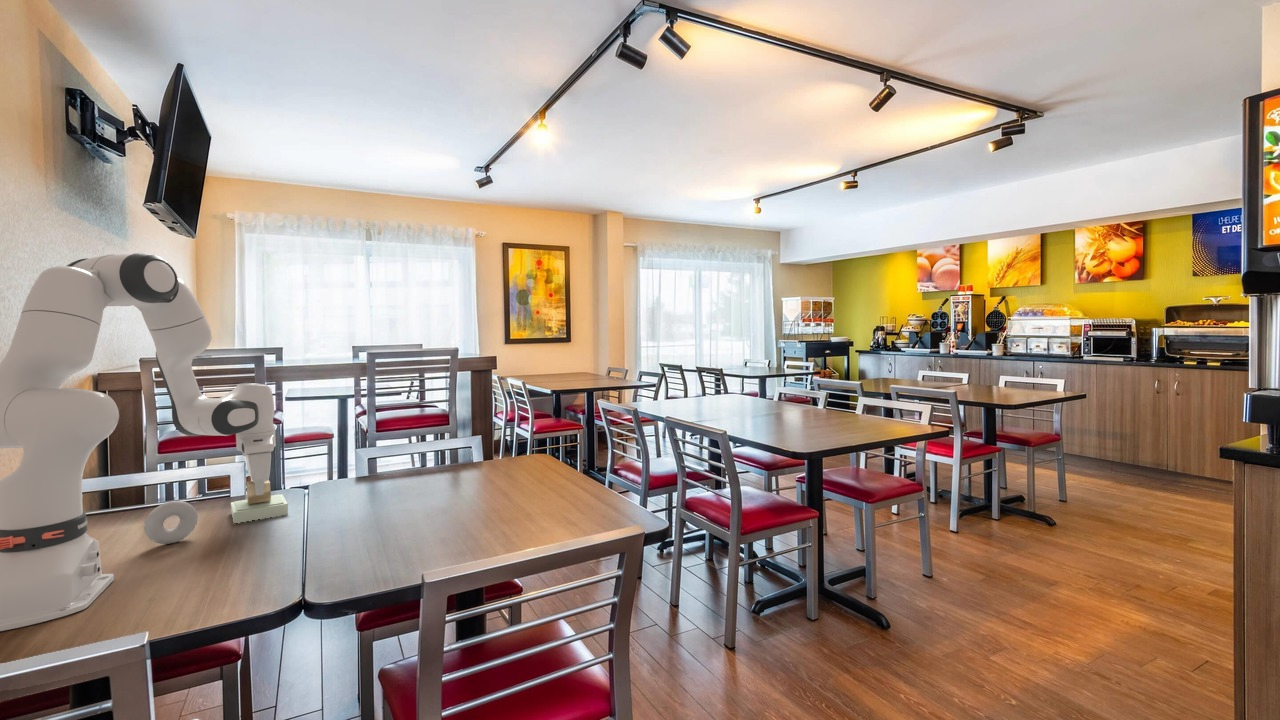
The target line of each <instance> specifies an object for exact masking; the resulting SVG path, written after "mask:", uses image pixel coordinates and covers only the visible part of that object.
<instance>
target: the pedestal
mask: <svg viewBox="0 0 1280 720" xmlns="http://www.w3.org/2000/svg"><path fill="white" fill-rule="evenodd" d="M288 505H289V504H288V502H287V500H286V498H285V497H284V494H282V493H281V494H274V495H273V494H271V501H265V502H259V503H253V504H248V501H247V499H242V500H235V501H232V502H230V513H231V518H233V519H232V523H233V522H234V523H238V524H241V523H240V522H244V523H247V522H246V521H249V522H253V521H252V520H255V521H259V520H258V519H260V520H265V518H266V519H271V518H270V517H272V518H276V516H277V517H281V516H282V515H283V516H287V515H289V507H288ZM234 523H233V524H234Z"/></svg>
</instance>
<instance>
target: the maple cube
mask: <svg viewBox="0 0 1280 720" xmlns="http://www.w3.org/2000/svg"><path fill="white" fill-rule="evenodd" d="M245 483H246V500H247V501H248V504H253V503H259V502H265V501H271V496H272V494H271V481H270V479H269V480H268V481H264V494H263V495H256V494H255V483H254V482H253V481H252V480H250V481H246V482H245Z"/></svg>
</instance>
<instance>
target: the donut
mask: <svg viewBox="0 0 1280 720" xmlns="http://www.w3.org/2000/svg"><path fill="white" fill-rule="evenodd" d="M172 516H176V517H178V518H179V522H178V523H177V525H176V526H175V527H174V528H171V529H170V528H169V529H167V528H165V526H164V522H165V520H167V518H169V517H172ZM198 518H199V516H198V513H197V510H196V509H195V507H194V506H193V505H192V504H190V503H189V502H186V501H181V500H171V501H167V502H164V503H161V504H160V505H158V506H156V507H155V508H153V509H152V510H151V512H150V513H148V515H147V517H146V519H145V521H144V525H143V530H144V533H145V536H146V537H147V538H148V539H149V540H150V542H151V541H152V542H153V543H156V544H158V545H159V544H160V545H168V544H169V545H170V544H171V543H172V544H175V543H178V542H181V541H183V540H184V539H186V538H187V537H188V536H189V535H190V534H192V533H193V531H194V530H195V528H196V526H197V524H198V520H199V519H198Z"/></svg>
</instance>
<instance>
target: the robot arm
mask: <svg viewBox="0 0 1280 720" xmlns="http://www.w3.org/2000/svg"><path fill="white" fill-rule="evenodd" d="M130 306H134V307H135V308H136V309H137V310H138V311H139V312H141V316H142V319H143V320H144V322H145V325H146V327H147V329H148V331H149V333H150V335H151V338H152V340H153V343H154V347H155V359H156V363H157V366H158V369H159V372H160V376H161V378H162V380H163V381H162V382H163V383H164V387H165V389H166V392H167V394H168V397H169V400H170V404H171V418H172V423H173V426H174V428H175V429H176V430H177V431H178V432H179V433H181V434H183V435H185V436H189V437H198V436H214V437H215V436H216V437H217V436H222V437H223V436H224V437H228V436H232V435H235V442H236V443H235V444H236V445H235V446H236V447H235V448H236V451H238V452H241V453H242V456H243V457H246V458H245V459H246V468H247V469H246V470H247V472H248V474H249V476H250V479H251V481H253V482H254V483H255V494H256V495H263V494H264V481H268V480H269V481H270V473H271V466H272V465H271V464H272V463H271V461H272V452H273V451H274V449H275V447H277V446H276V445H277V443H276V427H275V424H274V417H275V402H274V396H273V391H272V390H271V388H270V386H269V385H267V384H263V383H256V382H255V383H253V382H241V383H238V384H237V385H236V387H235V388H233V389H232V390H231V391H229V392H228V393H226V394H224V395H222V396H219V397H218V398H217V397H215V398H214V397H208V396H205V395H204V394H203V393H202V392H201V391H200V388H199V384H198V382H197V379H196V376H195V372H194V370H193V367H192V364H193V360H194V359H195V358H196V357H198V356H199V355H200V354H202V353H203V352H205V351H206V349H207V348H208V347H209V345H210V344H211V341H212V337H213V336H212V331H211V327H210V324H209V322H208V320H207V317H206V315H205V313H204V311H203V309H202V308H201V305H200V304H199V301H198V300H197V298H196V297H195V295H194V294H193V292H192V291H191V289H190V288H189V287H188V286H187V284H186V282H184V281H183V280H182V279H181V278H179V277H178V275H177V273H176V271H175V269H174V268H173V266H172V265H171V264H170V263H169V262H168V260H166V259H164V258H163V257H161V256H160V255H157V254H152V253H151V254H150V253H145V252H144V253H143V252H137V253H131V254H104V255H99V256H94V257H91V258H81V259H77V260H75V261H72V262H71V263H68V264H67V265H62V266H61V265H60V266H52V267H48V268H47V269H44V270H43V271H42V272H41V273H40V274H39V275H38V277H37V278H36V280H35V281H34V283H33V285H32V287H31V288H30V290H29V292H28V294H27V296H26V299H25V301H24V304H23V307H22V310H21V312H20V313H21V314H20V316H19V320H18V322H17V325H16V329H15V331H14V333H13V334H14V335H13V337H12V340H11V344H10V346H9V348H8V350H7V352H6V354H5V356H4V357H3V359H2V360H1V362H0V449H23V451H22V452H23V453H22V458H21V461H20V463H19V465H18V467H17V468H16V470H15V471H12V472H11V473H9V474H7V475H6V476H4V477H3V478H1V479H0V632H4V631H8V630H12V629H13V630H14V629H18V628H23V627H27V626H32V625H36V624H40V623H43V622H47V621H50V620H51V621H52V620H55V619H56V620H57V619H59V618H62V617H66V616H69V615H72V614H74V613H77V612H80V611H84V610H86V609H87V608H88V607H89V606H90V605H91V604H92V603H93V602H94V601H95V600H96V599H97V598H98V597H100V595H101V594H102V593H103V592H104V591H105V590H106V589H107V588H108V587H109V586H110V584H111V583H113V582H114V581H115V576H114V573H103V571H102V562H101V553H100V543H99V540H98V539H96V538H94V537H91V536H90V535H88V534H87V531H88V518H87V514H86V512H85V511H83V508H84V507H83V476H84V471H85V467H86V464H87V461H88V460H89V458H90V456H91V454H92V452H94V450H95V448H96V447H97V446H98V445H100V443H102V442H103V441H104V440H105V439H108V437H110V436H111V434H113V432H114V431H115V430H116V427H117V426H118V424H119V419H120V413H119V412H120V411H119V408H118V406H117V403H116V402H115V400H114V398H112V397H111V396H110V395H108V394H106V393H104V392H100V391H95V390H89V389H83V388H76V387H71V388H69V387H66V388H63V387H62V388H60V387H61V386H62V385H63V384H64V382H65V381H67V379H69V378H70V377H71V376H73V375H75V374H76V373H79V372H80V371H82V370H84V369H86V368H87V366H89V365H90V364H91V362H92V360H93V357H94V353H95V349H96V346H97V345H96V344H97V342H98V338H99V333H100V330H101V326H102V325H101V324H102V321H103V313H104V310H105V308H106V307H130Z"/></svg>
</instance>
